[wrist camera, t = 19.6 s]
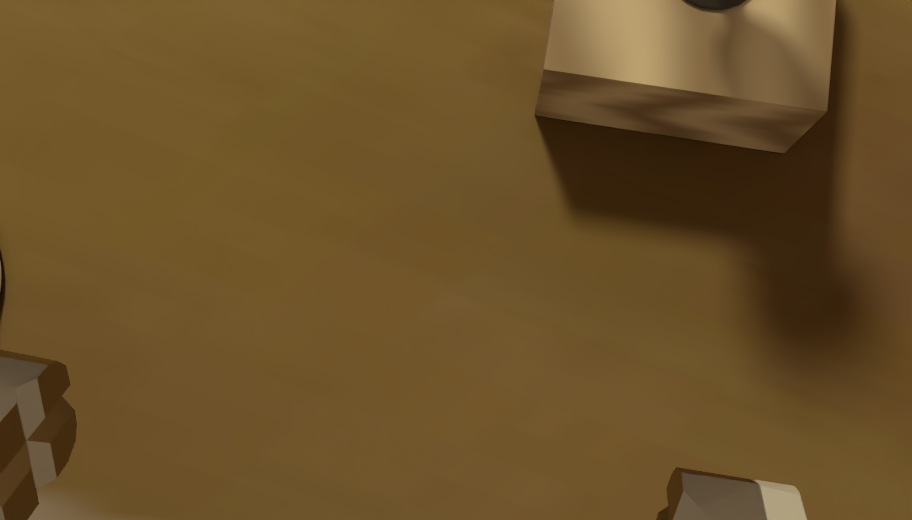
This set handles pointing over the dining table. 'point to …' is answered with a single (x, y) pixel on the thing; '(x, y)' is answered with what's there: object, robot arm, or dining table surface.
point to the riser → (691, 68)
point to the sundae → (716, 4)
